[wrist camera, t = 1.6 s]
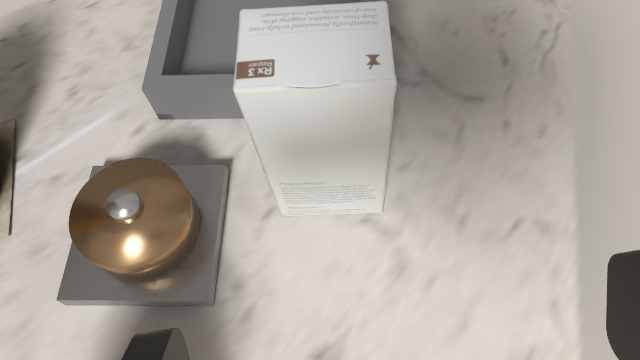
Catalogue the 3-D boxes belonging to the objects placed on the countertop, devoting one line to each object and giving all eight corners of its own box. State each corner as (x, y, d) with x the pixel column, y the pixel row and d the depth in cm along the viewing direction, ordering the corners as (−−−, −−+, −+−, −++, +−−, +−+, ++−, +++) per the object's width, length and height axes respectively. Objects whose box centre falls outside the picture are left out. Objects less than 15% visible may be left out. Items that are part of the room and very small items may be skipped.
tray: (159, 119, 32) (141, 89, 29) (190, -29, 38) (178, -65, 36) (377, 116, 31) (379, 84, 28) (370, -35, 38) (372, -72, 35)
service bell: (66, 305, 26) (18, 282, 23) (100, 174, 30) (64, 135, 26) (213, 305, 26) (190, 282, 22) (229, 172, 30) (211, 133, 26)
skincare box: (378, 151, 30) (395, -11, 19) (384, 219, 28) (406, 79, 17) (277, 155, 30) (238, -3, 19) (275, 223, 28) (230, 88, 17)
